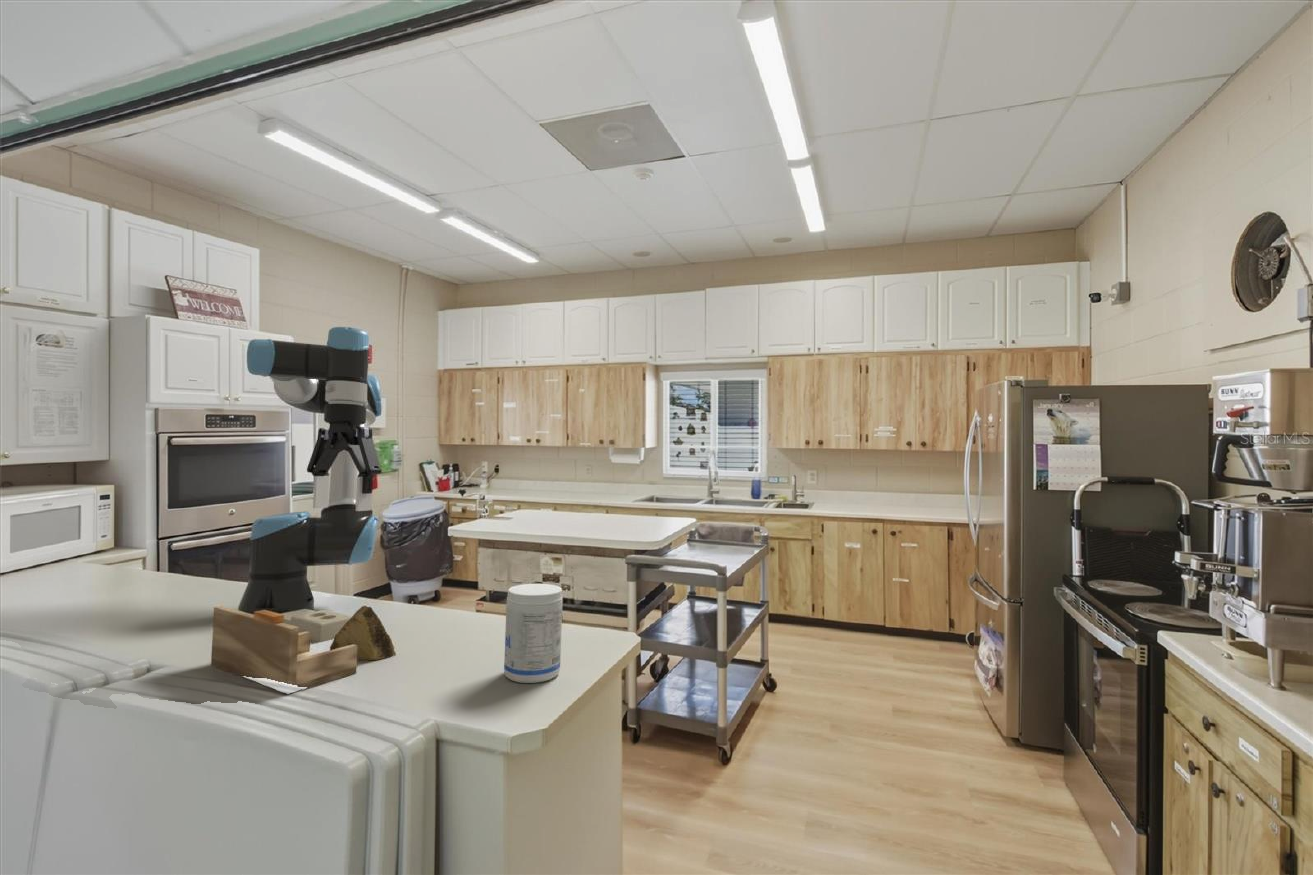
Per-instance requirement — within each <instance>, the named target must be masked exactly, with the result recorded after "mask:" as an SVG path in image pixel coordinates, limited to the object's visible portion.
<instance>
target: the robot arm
mask: <svg viewBox="0 0 1313 875" xmlns="http://www.w3.org/2000/svg"><path fill="white" fill-rule="evenodd" d="M327 335H328V336H327V341H326V344H317V343H316V344H315V343H314V344H313V343H305V342H296V341H295V342H294V341H285V340H284V341H283V340H275V339H270V338H268V339H265V338H264V339H261V338H260V339H258V338H255V339H251V340H250V341H249V342H248V345H247V351H246V366H247V367H246V368H247V371H248V373H250V374H251V375H253V376H261V377H269V378H270V379H271V381H272V383H273V390H274V392H275V394H276V395H277V397H278V398H279V399H280V400H281V401H283V402H284V403H285V404H287V405H289V406H291V407H292V408H293V407H294V408H296V409H298V410H302V411H304V412H307V413H314V414H323V421H324V422H325V423H327V424H328V425H329V428H325V427H324V428H323V427H319V429H318V431H317V439H316V441H315V445H314V447H313V450H312V454H311V457H310V459H309V462H308V464H307V467H306V471H307V473H308V474H309V473H310V474H311V475H312V476H313V501H312V503H313V504H312V508H313V509H321V508H322V509H321V511H320V516H319V517H312V515H311V513H310V512H309V511H295V512H287V513H285V512H284V513H279V514H274V515H273V514H272V515H267V516H262V517H259V518H257V519H255V520H254V521H253V523H252V524H251V534H250V538H249V540H250V548H249V549H250V550H249V551H250V553H249V567H248V568H249V569H248V570H249V571H248V582H247V585H246V587H245V590H244V592H243V595H242V596H241V599H240V601H239V604H238V606H237V610H238V611H242V612H246V613H249V614H253V615H254V612H255V611H261V610H267V611H271V612H275V613H279V614H282V613H287V612H292V611H297V610H302V609H309V610H313V611H314V608H315V599H314V595H313V592H312V588H311V585H310V582H309V581H308V567H311V566H312V567H315V566H316V567H317V566H338V565H348V566H349V565H350V566H351V565H353V564H354V565H355V564H365V563H368V562H369V561H370V560H371V559H372V557H373V553H374V548H375V542H376V537H377V531H378V527H379V526H378V525H379V517H378V516H377V515H373V512H374V511H373V509H372V494H373V487H374V485H373V484H374V477H376V475H380V474H381V473H382V471H383V470H382V467H381V464H380V460H379V456H378V452H377V449H376V446H375V443H374V439H373V428H372V427H370V426H371V425H373V424H374V423H375V422H376V419H377V417H380V416H381V415H382V410H383V409H382V393H381V387H380V382H379V380H378V378H377V377H376V376H375V375H372V374H368V372H369V353H370V335H369V332H367V331H365V330H363V329H361V328H355V327H350V326H335V327H331V328H330V329H329V330H328V334H327ZM329 471H330V473H329Z"/></svg>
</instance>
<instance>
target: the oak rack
mask: <svg viewBox="0 0 1313 875" xmlns="http://www.w3.org/2000/svg"><path fill="white" fill-rule="evenodd" d="M212 620H213V622H212V639H211V641H212V642H211V655H210V657H211V659H210V660H211V661H210V666H212V667H215V668H218V669H220V670H222V671H225V672H228V673H230V674H234V675H236V676H238V677H241V676H246V677H252V678H267V679H271V680H275V681H278V682H284V683H287V684H292V685H297V686H298V687H307V688H308V689H312V688H314V687H317V686H320V685H325V684H327V683H330V682H333V681H337V680H340V679H342V678H346V677H349V676H353V675H356V674H357V665H358V663H357V662H358V659H357V645H354V644H352V645H348V646H345V647H341V648H337V649H333V650H330V649H329V650H327V651H323V652H318V653H315V652H312V651H311V650H310V648H311V647H310V646H311V640H310V632H308V631H305V632H301V633H298V632H299V627H296V626H292V625H289V624H285V623H284V615H282V614H279V613H275V612H271V611H267V610H261V611H255V612H254V615H253V614H249V613H246V612H242V611H238V609H235V608H231V607H227V606H223V605H220V606H214V607H213V619H212Z"/></svg>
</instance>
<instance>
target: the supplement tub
mask: <svg viewBox="0 0 1313 875" xmlns="http://www.w3.org/2000/svg"><path fill="white" fill-rule="evenodd" d="M506 596H507V597H506V604H505V605H506V607H505V610H506V612H505V630H504V631H505V632H504V633H505V635H504V636H505V638H504V660H503V661H504V664H503V665H504V667H503V672H504V673H503V674H504V675H505V677H506V678H507V679H509V680H511V681H513V682H516V683H521V684H537V683H543V682H546V681H547V682H548V681H550V680H552V679H554V678H555V677H556V676H558V674H559V673H560V670H561V657H562V656H561V655H562V654H561V652H562V650H561V649H562V628H563V626H562V625H563V588H561V586H558V585H556V584H550V583H523V584H517V585H514V586H511V587H509V588H508V589H507V595H506Z"/></svg>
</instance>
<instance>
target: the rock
mask: <svg viewBox="0 0 1313 875" xmlns="http://www.w3.org/2000/svg"><path fill="white" fill-rule="evenodd" d="M351 616H352V617H351V618H350V620H349V621H348V622H347V623H346V624H345V625H344V626H343V627H342V629H341V630H340V631H339V632H338V633H337V634H336V635H335V637H334V639H333V641H332V643H331V645H330V646H329V651H330V650H333V649H337V648H341V647H345V646H348V645H352V644H354V645H357V661H358V660H359V661H362V660H369V661H378V660H382V659H388V658H391V657H393V656H397V653H396V650H395V646H394V644H393V641H392V638H391V636H390V635H389V634H388V632H387V631H386V628H385V626H384V625H383V622H382V621H381V619H380V618H379V616H378V614H376V612H375V611H374V610H373V608H372V607H371V606H367V605H362V606H361V607H360V608H359V609H357V610H356V612H355V613H354V614H353V615H351Z"/></svg>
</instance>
